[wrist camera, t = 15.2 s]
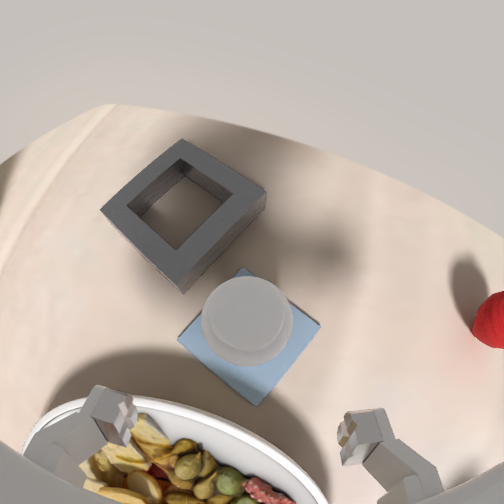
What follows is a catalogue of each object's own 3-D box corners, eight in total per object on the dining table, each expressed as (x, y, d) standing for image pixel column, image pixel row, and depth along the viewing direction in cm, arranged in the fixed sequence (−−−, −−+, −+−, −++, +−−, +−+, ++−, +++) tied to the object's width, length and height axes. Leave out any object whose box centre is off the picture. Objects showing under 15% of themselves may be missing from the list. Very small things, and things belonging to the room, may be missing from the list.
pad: (177, 340, 24) (176, 340, 23) (242, 268, 27) (242, 266, 26) (256, 406, 21) (256, 406, 21) (319, 327, 24) (320, 326, 24)
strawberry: (454, 300, 25) (514, 268, 16) (492, 312, 24) (548, 286, 15) (449, 351, 23) (516, 334, 14) (489, 358, 22) (550, 343, 13)
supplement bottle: (251, 291, 25) (254, 241, 16) (292, 338, 24) (322, 317, 14) (202, 330, 24) (172, 302, 14) (242, 379, 22) (239, 387, 13)
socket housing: (110, 223, 28) (99, 209, 26) (186, 155, 32) (181, 138, 29) (183, 294, 25) (176, 285, 23) (264, 208, 29) (266, 191, 26)
